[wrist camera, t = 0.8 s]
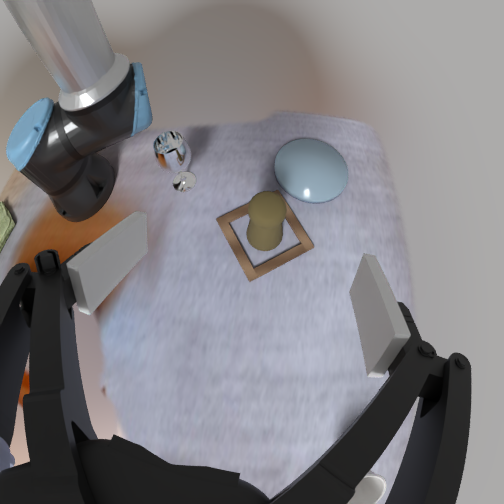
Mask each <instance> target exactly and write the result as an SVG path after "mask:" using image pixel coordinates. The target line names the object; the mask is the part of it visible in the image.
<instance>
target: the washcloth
mask: <svg viewBox="0 0 504 504" xmlns="http://www.w3.org/2000/svg"><path fill="white" fill-rule="evenodd" d="M14 226H15V223H14V221H13V220H12V217H11V215H10V213H9V211H8V210H7V208H6V207H5V205H4V203H3V202H2V201H1V203H0V253H1V251H2V248H3V246H4V245H5V242H6V240H7V238H8V236H9V234H10V232H11V231H12V230H13V228H14Z"/></svg>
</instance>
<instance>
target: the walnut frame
mask: <svg viewBox="0 0 504 504" xmlns="http://www.w3.org/2000/svg"><path fill="white" fill-rule="evenodd" d="M274 193H276V194H278V195H280V196H281V197H282V195H281V193H280V192H279V190H276V191H274ZM282 198H283V197H282ZM283 200H284V198H283ZM284 202H285V204H286V209H287V212H286V216H285V218H286V220H287V221H288V223H289V225H290V226H291V228H292V230H293V231H294V233H295V234H296V236H297V238H298V239H299V241H300V243H301V244H300V245H298V246H296V247H294V248H292V249H290V250H288V251H287V252H285V253H283V254H281V255H279V256H277V257H275V258H273V259H271V260H269V261H267V262H266V263H264V264H262V265H260V266H258V267H256V268H254V269H253V267H252V265H251V263H250V261H249V260H248V258H247V256H246V254H245V252H244V251H243V249H242V247H241V245H240V243H239V241H238V240H237V238H236V236H235V234H234V232H233V230H232V229H231V227H230V225H229V223H230V222H232V221H234V220H236V219H238V218H240V217H242V216H244V215H246V214H248V206H249V203H248V204H246V205H244V206H242V207H240V208H238V209H236V210H233V211H231V212H229V213H227V214H225V215H223V216H221V217H219V218H217V219H216V220H217V222H218V224H219V226H220V228H221V229H222V231H223V233H224V235H225V237H226V239H227V241H228V243H229V245H230V246H231V248H232V250H233V252H234V254H235V256H236V258H237V260H238V261H239V263H240V265H241V267H242V269H243V271H244V273H245V274H246V276H247V278H248V280H249V282H251V281H252V280H254V279H256V278H258V277H260V276H262V275H264V274H266V273H268V272H270V271H271V270H273V269H275V268H277V267H279V266H281V265H283V264H285V263H286V262H288V261H290V260H292V259H294V258H296V257H298V256H299V255H301V254H303V253H305V252H307V251H309V250H311V249H312V248H314V246H313V244H312V243H311V241H310V239H309V238H308V236H307V234H306V233H305V231H304V230H303V228H302V226H301V225H300V223H299V222H298V220H297V218H296V217H295V215H294V214H293V212H292V210H291V209H290V207H289V206H288V204H287V203H286V201H285V200H284Z"/></svg>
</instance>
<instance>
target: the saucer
mask: <svg viewBox="0 0 504 504" xmlns="http://www.w3.org/2000/svg"><path fill="white" fill-rule="evenodd" d="M274 169H275V175H276V178H277V181H278V182H279V184H280V186H281V187H282V188H283V189H284V190H285V191H286V192H287V193H288V194H289V195H291V196H292V197H294V198H296V199H298V200H301V201H303V202H308V203H325V202H328V201H331V200H333V199H335V198H336V197H337V196H339V195H340V194H341V192H342V191H343V189H344V188H345V186H346V184H347V181H348V168H347V165H346V163H345V161H344V159H343V157H342V156H341V155H340V154H339V153H338V152H337V151H336V150H335V149H334V148H333V147H331V146H330V145H328V144H326V143H324V142H321V141H318V140H314V139H298V140H294V141H292V142H289V143H288V144H286V145H285V146H283V147H282V148H281V149H280V151H279V152H278V154H277V156H276V159H275V168H274Z"/></svg>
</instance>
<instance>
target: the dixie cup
mask: <svg viewBox="0 0 504 504" xmlns="http://www.w3.org/2000/svg"><path fill="white" fill-rule="evenodd" d="M385 490H386V481H385V479H384V478H383V477H382V476H380V475H378V474H375V473H374V472H372V471H371V470H369V472H368V473H367V474H366V475H365V477H364V478H363V479H362V480H361V481H360V483H359V484H358V485H357V486H356V488H355V494H354V496H353V497H352V498H351V500H350V501H349V502H348V503H347V504H376V503H377V502H378V501H379V500H380V499H381V497H382V496H383V494H384V492H385Z"/></svg>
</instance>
